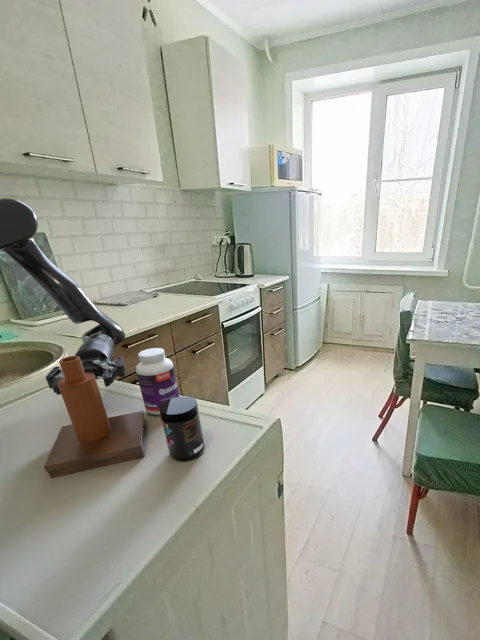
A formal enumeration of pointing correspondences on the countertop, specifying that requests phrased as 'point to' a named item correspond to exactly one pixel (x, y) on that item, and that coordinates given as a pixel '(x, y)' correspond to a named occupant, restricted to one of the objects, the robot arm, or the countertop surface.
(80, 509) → the countertop surface
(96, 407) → the bottle
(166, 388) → the pill bottle
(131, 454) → the brown wooden box
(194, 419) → the supplement container
